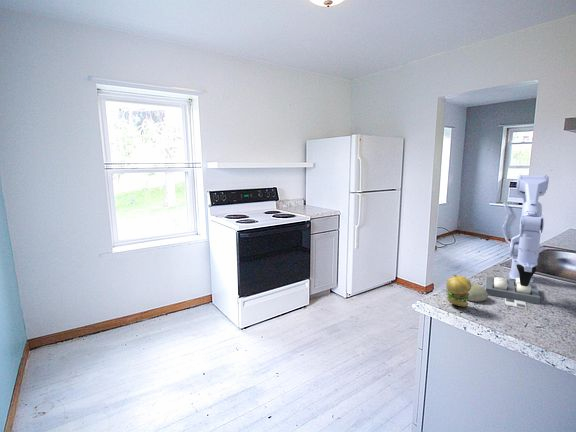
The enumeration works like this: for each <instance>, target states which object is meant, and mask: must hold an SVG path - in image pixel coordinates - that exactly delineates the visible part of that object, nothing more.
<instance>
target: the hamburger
mask: <svg viewBox="0 0 576 432" xmlns="http://www.w3.org/2000/svg"><path fill="white" fill-rule="evenodd" d="M471 284H472V282H471V281H470V280H469V279H468V278H467V277H466V276H462V275H461V276H460V275H457V274H452V277H450V278H448V280H447V281H446V292H447V293H446V300H447V301H448V302H449V303H450V304H452V305H454V306H458V307H461V308H466V307H468V306H469V302H467V301H469V300H468V299H469V298H468V295H469V293H468V291H470V289H471Z"/></svg>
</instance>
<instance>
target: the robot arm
mask: <svg viewBox="0 0 576 432" xmlns="http://www.w3.org/2000/svg"><path fill="white" fill-rule="evenodd" d="M549 178H550V177H549V176H548V174H545V175H543V174H542V175H540V174H539V175H537V174H536V175H535V174H534V175H532V174H530V175H526V174H524V175H523V174H518V176H517V181H516V190H515V192H516V195H518V196H520V197H521V198H522V199H521V200H522V206H521V215H520V219H519V220H520V221H519V228H518V229H519V233H518V235H515V236H513V237H511V239H510V242H509V244H510V245H509V253H508V255H509V257H511V258H512V259H511V268H510V271H509V272H508V278H509V279H508V280H514V281H516V278H520V284H521V285H522V286H528V285H529V283H532V284H534V279H533V276H534V274H535V273H536V272H537V267H536V266H538V264H539V263H538V260H539V259H538V258H539V257H540V243H541V242H540V241H541V235H542V233H543V231H544V226H545V220H544V219H545V218H544V215H543V213H542V212H543V204H542V203H541V202H540V201H539V199H540V198H539V197H542V196H545V194H546V192H547V191H548V188H549V181H550V179H549Z"/></svg>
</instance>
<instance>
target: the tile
mask: <svg viewBox="0 0 576 432" xmlns="http://www.w3.org/2000/svg"><path fill="white" fill-rule="evenodd" d="M526 303H527V302H524V301H519V300H513V299H508V298H504V305H505V306H508V307H514V308H518V309H522V310H523V309H525V310H528V309H527V304H526Z"/></svg>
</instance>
